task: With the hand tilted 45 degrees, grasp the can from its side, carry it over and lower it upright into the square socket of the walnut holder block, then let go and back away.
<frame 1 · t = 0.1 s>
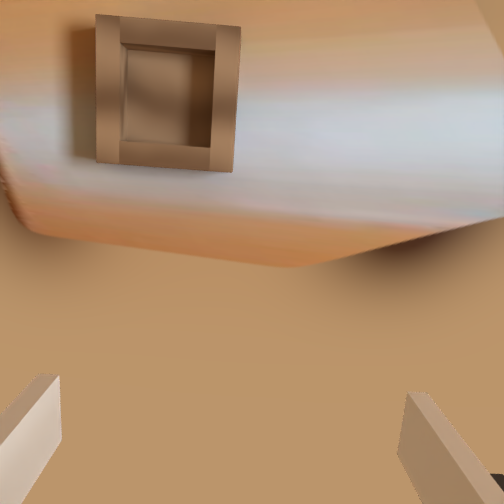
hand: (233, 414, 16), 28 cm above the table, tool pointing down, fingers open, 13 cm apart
holder: (173, 101, 40), on the table
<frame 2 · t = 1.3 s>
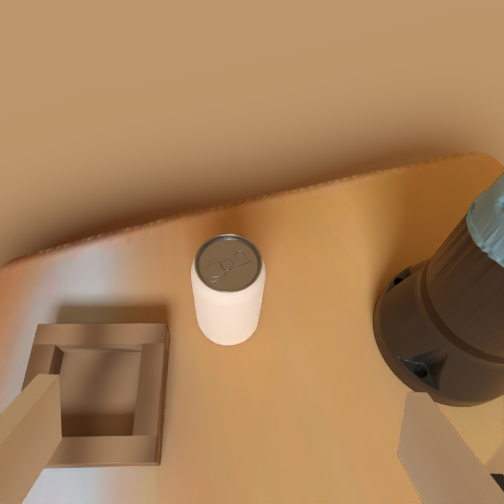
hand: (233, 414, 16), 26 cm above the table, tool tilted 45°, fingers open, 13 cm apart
can: (228, 318, 45), on the table
holder: (101, 396, 40), on the table
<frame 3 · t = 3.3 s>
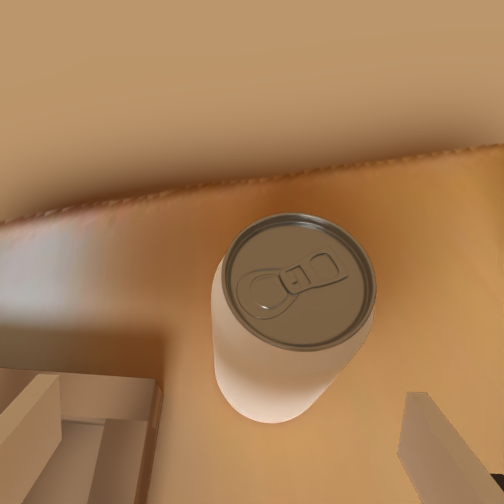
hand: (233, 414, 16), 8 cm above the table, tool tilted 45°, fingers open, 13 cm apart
can: (268, 368, 26), on the table
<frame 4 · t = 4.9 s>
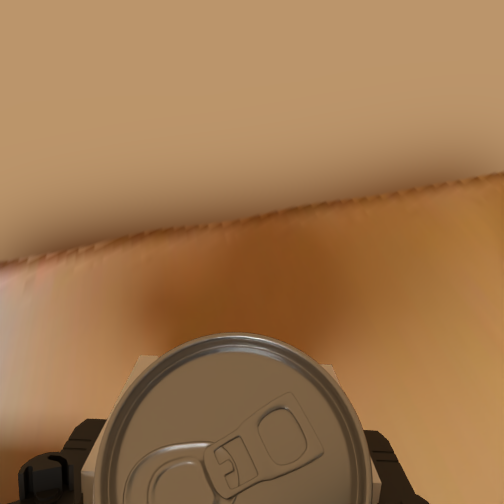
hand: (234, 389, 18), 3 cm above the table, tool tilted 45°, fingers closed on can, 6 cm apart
can: (227, 492, 19), on the table, touching gripper
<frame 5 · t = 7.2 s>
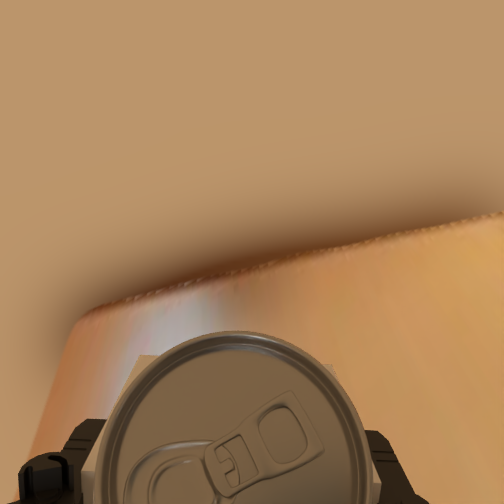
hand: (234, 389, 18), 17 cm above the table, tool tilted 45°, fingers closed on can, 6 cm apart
can: (228, 491, 19), point 14 cm above the table, touching gripper
when the fingers open (6 cm above the table, at t = 9.7 s): can drops 1 cm, resting on holder.
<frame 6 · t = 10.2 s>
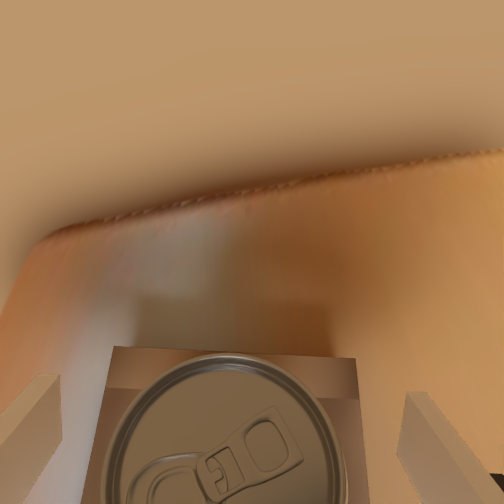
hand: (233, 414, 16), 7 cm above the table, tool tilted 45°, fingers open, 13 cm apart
can: (230, 497, 20), point 1 cm above the table, touching holder
holder: (227, 494, 21), on the table
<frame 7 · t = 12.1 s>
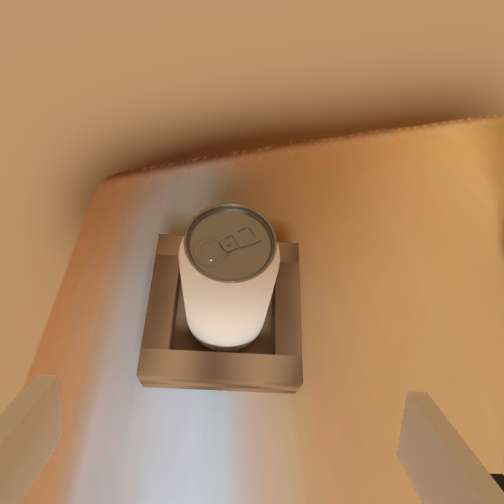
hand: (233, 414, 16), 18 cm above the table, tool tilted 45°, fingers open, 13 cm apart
can: (225, 317, 36), point 1 cm above the table, touching holder
holder: (224, 318, 37), on the table
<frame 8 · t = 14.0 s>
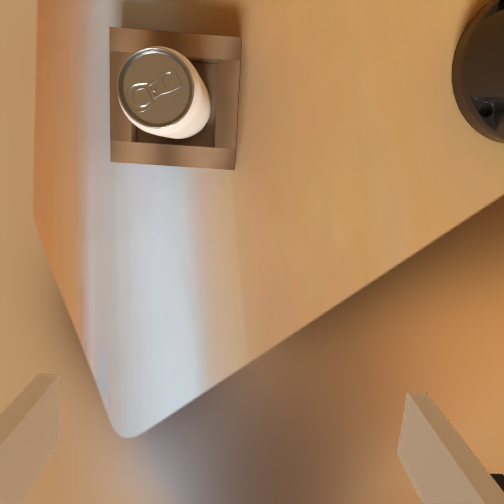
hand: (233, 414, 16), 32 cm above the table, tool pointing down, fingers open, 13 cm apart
can: (179, 106, 43), point 1 cm above the table, touching holder
holder: (179, 105, 44), on the table
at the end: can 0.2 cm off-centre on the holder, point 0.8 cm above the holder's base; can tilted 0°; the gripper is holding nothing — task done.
